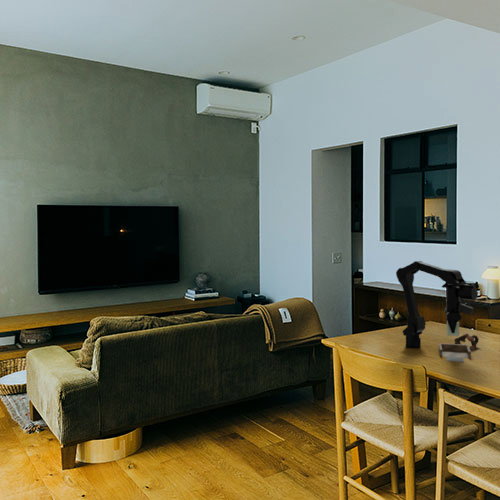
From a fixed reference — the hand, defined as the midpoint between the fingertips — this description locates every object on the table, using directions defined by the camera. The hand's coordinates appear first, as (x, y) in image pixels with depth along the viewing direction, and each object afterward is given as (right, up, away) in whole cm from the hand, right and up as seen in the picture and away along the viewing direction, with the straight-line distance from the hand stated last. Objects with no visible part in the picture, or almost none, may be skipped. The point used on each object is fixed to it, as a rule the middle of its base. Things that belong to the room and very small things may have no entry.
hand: (452, 331), depth 235 cm
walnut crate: (+2, -11, +2) cm, 11 cm away
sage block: (0, -1, 0) cm, 1 cm away
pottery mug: (+13, -11, +14) cm, 22 cm away
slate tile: (-2, -11, -8) cm, 14 cm away
